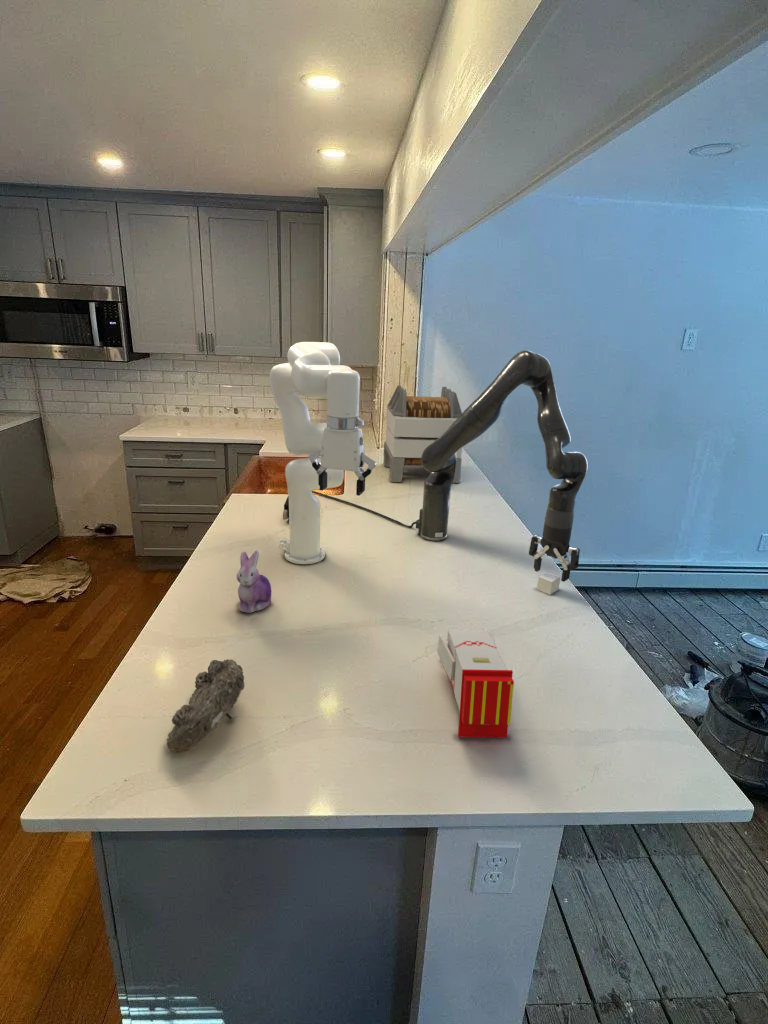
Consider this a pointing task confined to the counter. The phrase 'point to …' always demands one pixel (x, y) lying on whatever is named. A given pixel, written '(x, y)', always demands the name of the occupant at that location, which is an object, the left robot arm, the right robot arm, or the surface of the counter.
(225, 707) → the fossil
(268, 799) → the counter surface
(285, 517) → the figurine character
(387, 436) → the white wooden crate
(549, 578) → the block
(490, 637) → the toy
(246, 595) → the figurine
